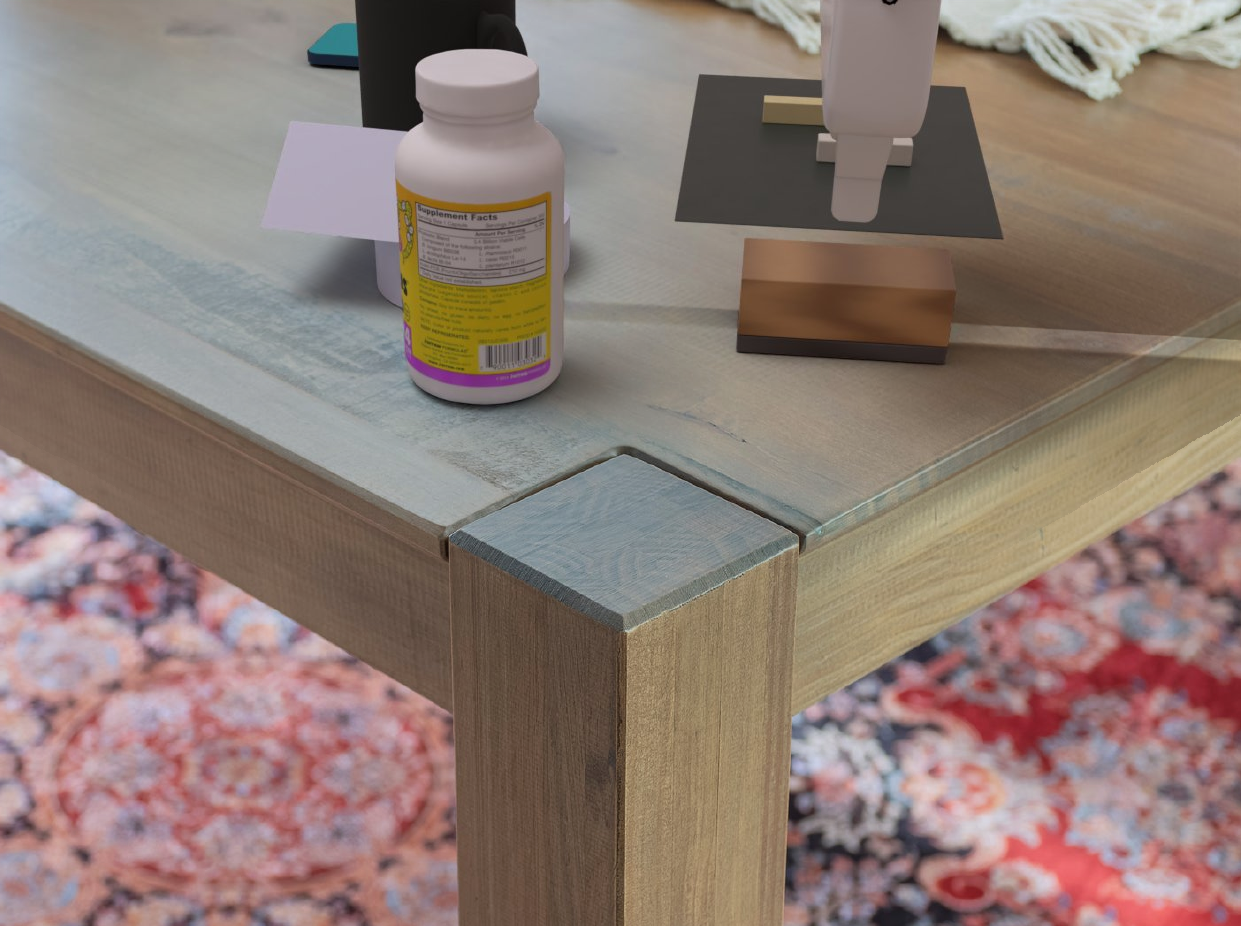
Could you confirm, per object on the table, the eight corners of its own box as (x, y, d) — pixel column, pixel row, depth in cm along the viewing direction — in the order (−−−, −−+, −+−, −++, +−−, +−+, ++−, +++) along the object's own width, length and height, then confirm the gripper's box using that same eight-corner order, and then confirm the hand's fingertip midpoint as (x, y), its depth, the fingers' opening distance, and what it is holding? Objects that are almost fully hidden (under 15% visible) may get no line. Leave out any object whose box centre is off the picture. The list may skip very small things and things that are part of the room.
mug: (462, 221, 85) (456, 8, 79) (335, 155, 92) (321, -44, 86) (590, 186, 89) (594, -18, 83) (458, 126, 97) (453, -66, 90)
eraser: (938, 320, 76) (949, 248, 74) (945, 364, 72) (956, 290, 70) (739, 308, 77) (744, 237, 75) (735, 352, 73) (741, 278, 71)
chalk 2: (909, 159, 90) (912, 137, 90) (910, 167, 89) (913, 144, 89) (816, 154, 91) (818, 132, 90) (816, 162, 90) (818, 140, 89)
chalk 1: (850, 120, 95) (853, 99, 95) (851, 127, 94) (853, 106, 94) (762, 116, 96) (764, 95, 95) (762, 123, 95) (763, 101, 94)
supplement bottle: (446, 330, 74) (436, 31, 67) (585, 356, 73) (591, 52, 65) (377, 393, 69) (358, 78, 62) (525, 423, 67) (524, 102, 60)
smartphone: (336, 19, 110) (560, 32, 108) (337, 32, 111) (560, 45, 109) (303, 53, 105) (539, 67, 103) (304, 66, 105) (539, 81, 103)
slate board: (963, 103, 101) (965, 86, 101) (1000, 258, 82) (1004, 238, 81) (698, 90, 103) (699, 73, 102) (673, 239, 83) (674, 220, 83)
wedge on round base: (267, 297, 77) (541, 330, 75) (252, 153, 73) (542, 182, 71) (335, 226, 84) (588, 253, 82) (325, 90, 80) (591, 115, 78)
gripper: (1008, -131, 54) (941, 277, 62) (961, -230, 70) (914, 103, 78) (810, -142, 54) (769, 266, 62) (810, -237, 71) (778, 95, 79)
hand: (850, 174), depth 70 cm, fingers open, 8 cm apart
